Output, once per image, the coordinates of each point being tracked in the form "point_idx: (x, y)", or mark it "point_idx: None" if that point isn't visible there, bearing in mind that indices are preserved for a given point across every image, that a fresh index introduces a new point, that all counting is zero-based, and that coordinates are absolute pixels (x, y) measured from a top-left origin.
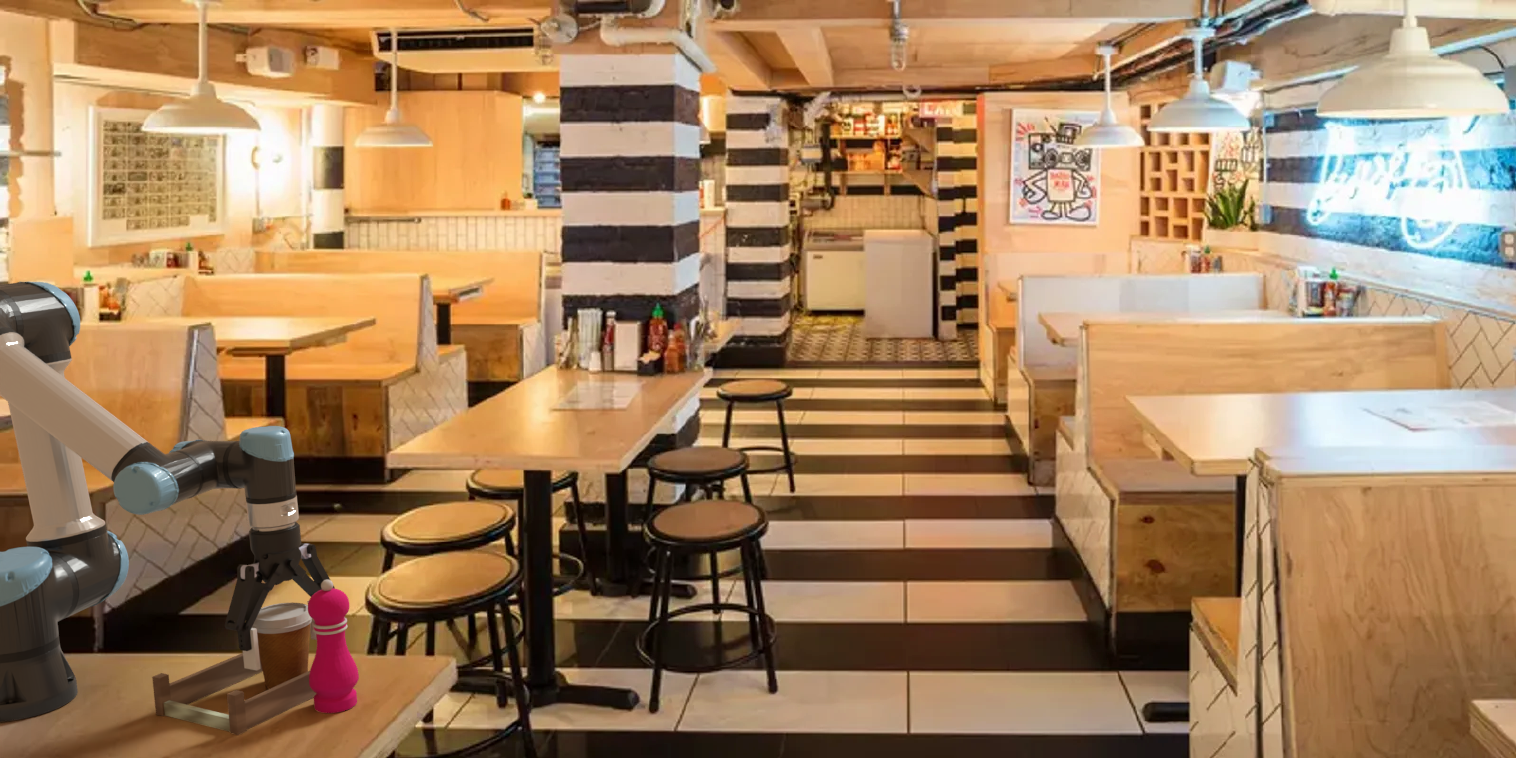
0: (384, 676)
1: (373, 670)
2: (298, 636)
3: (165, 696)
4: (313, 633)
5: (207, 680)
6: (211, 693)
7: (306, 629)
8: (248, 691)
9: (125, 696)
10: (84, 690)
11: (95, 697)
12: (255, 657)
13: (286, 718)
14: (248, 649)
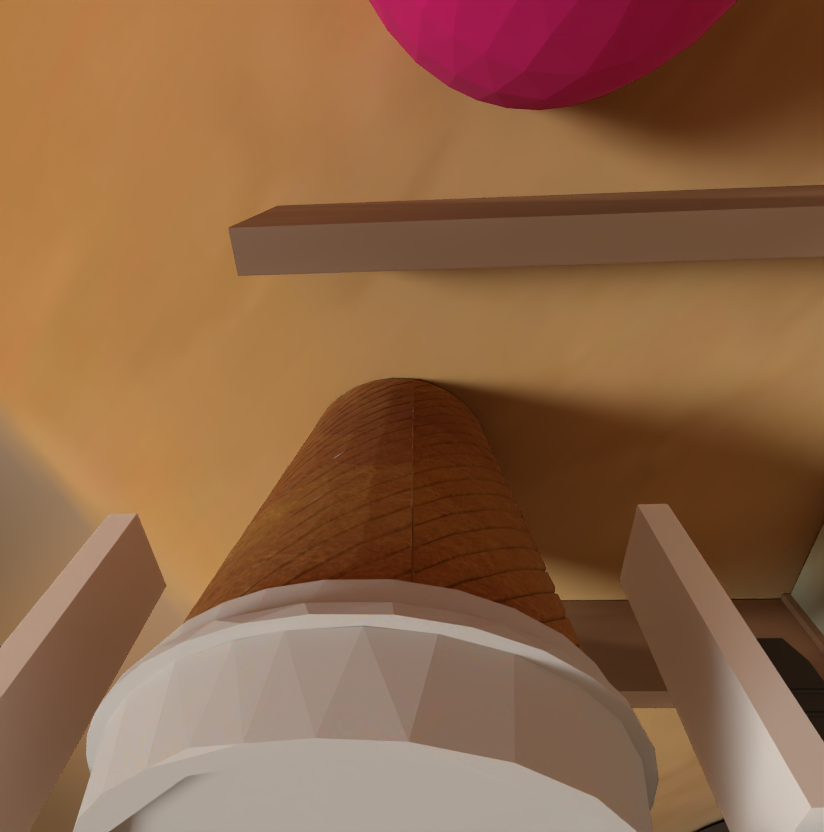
0: (24, 33)
1: (33, 191)
2: (403, 534)
3: None
4: (141, 598)
5: (634, 651)
6: (602, 601)
7: (289, 564)
8: (533, 517)
9: (688, 753)
10: (676, 827)
11: (712, 792)
12: (708, 567)
13: (778, 90)
14: (769, 645)
